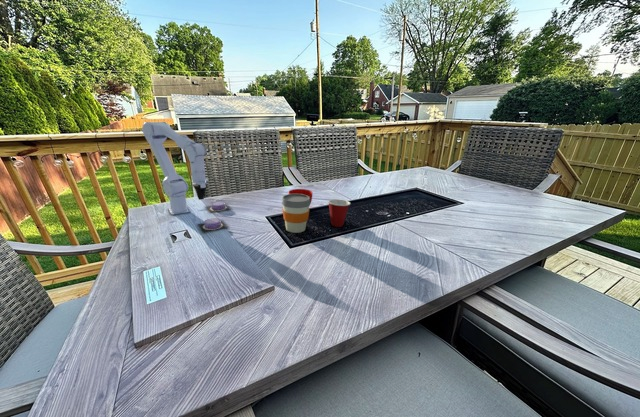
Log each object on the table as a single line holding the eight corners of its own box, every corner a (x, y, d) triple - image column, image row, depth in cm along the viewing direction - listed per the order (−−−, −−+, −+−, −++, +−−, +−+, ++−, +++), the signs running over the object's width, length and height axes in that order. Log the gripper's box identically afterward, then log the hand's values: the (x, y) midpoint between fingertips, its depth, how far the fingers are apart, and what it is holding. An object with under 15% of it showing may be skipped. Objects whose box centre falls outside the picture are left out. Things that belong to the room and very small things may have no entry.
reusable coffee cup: (276, 228, 120) (276, 196, 115) (296, 221, 128) (297, 191, 123) (294, 237, 112) (295, 203, 107) (315, 229, 121) (316, 198, 116)
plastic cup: (351, 223, 130) (353, 200, 126) (344, 230, 120) (346, 206, 116) (331, 218, 134) (332, 196, 130) (322, 226, 124) (324, 202, 120)
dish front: (202, 225, 118) (202, 219, 118) (218, 222, 123) (217, 216, 122) (207, 230, 113) (206, 225, 113) (223, 227, 118) (223, 221, 117)
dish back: (209, 207, 141) (209, 202, 140) (223, 205, 145) (222, 200, 144) (213, 211, 136) (213, 206, 135) (227, 209, 140) (226, 204, 139)
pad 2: (198, 224, 119) (198, 224, 119) (220, 220, 125) (220, 220, 125) (204, 232, 111) (204, 232, 111) (227, 227, 117) (227, 227, 117)
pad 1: (206, 207, 141) (206, 206, 141) (224, 204, 147) (224, 204, 147) (211, 212, 133) (211, 212, 133) (230, 209, 139) (230, 209, 139)
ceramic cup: (280, 213, 138) (280, 195, 134) (295, 204, 153) (295, 187, 149) (302, 217, 133) (303, 199, 130) (315, 207, 148) (316, 191, 145)
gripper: (211, 173, 116) (214, 202, 121) (203, 167, 127) (205, 194, 132) (194, 174, 112) (197, 204, 117) (187, 168, 123) (190, 195, 128)
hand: (201, 199), depth 124 cm, fingers closed
